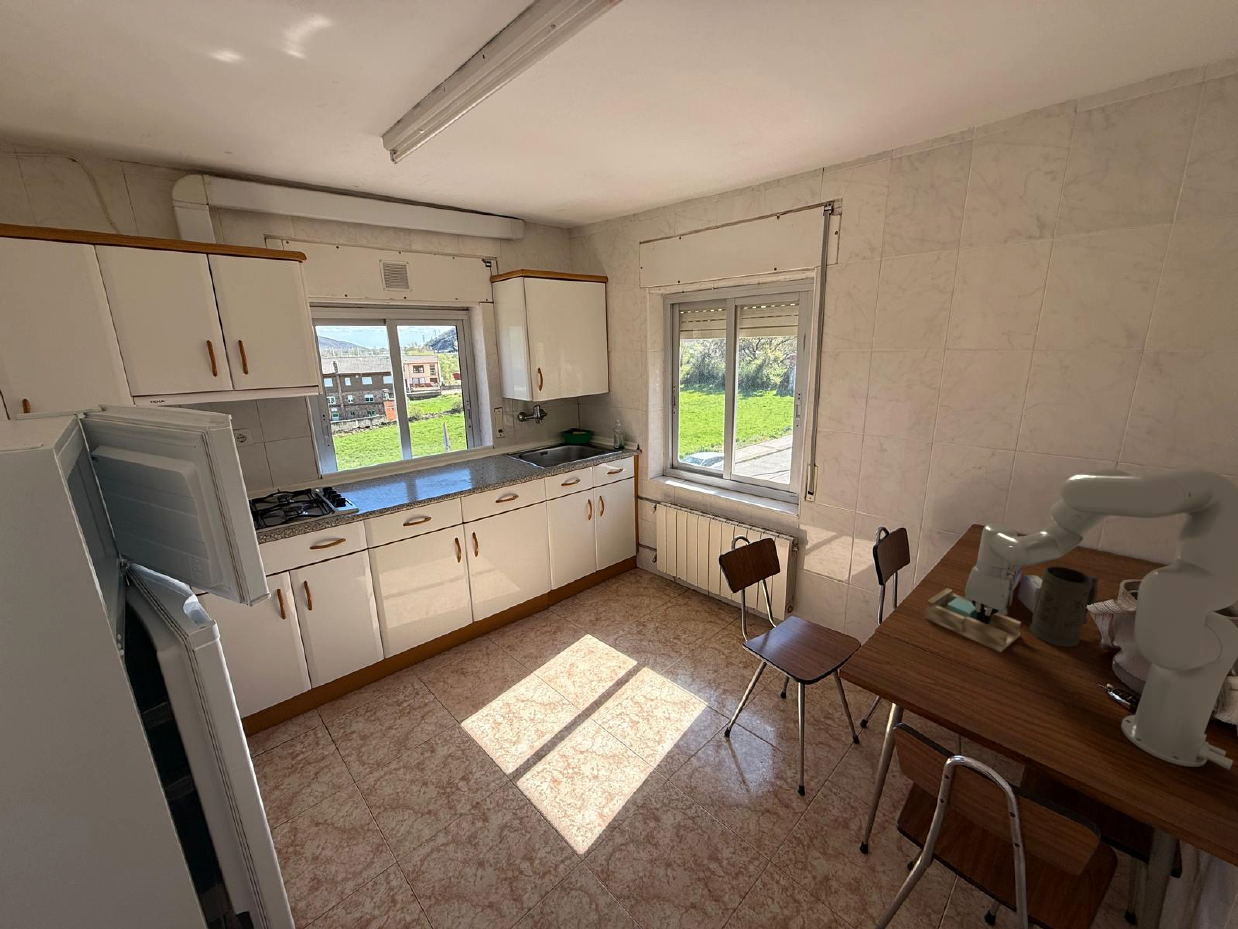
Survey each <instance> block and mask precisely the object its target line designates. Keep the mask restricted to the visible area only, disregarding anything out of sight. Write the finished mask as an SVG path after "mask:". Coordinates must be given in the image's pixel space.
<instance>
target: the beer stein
mask: <svg viewBox="0 0 1238 929" xmlns="http://www.w3.org/2000/svg"><path fill="white" fill-rule="evenodd" d="M1042 576H1043V577H1042V584H1041V587H1040V589H1039V592H1038V595H1037V599H1036V603H1035V608H1034V612H1032V617H1031V618H1032V619H1031V620H1032V622H1031V623H1030V625H1029V631H1030V632H1031V633H1032V635H1034V636H1035V638H1038V639H1040V640H1042V641H1044V642H1046V643H1049V644H1051V645H1054V646H1059V647H1064V648H1065V647H1067V648H1070V647H1076V646H1078V645H1079V644H1080V635H1081V633H1082V629H1083V628H1082V627H1083V625H1084V624H1085V625H1086V624H1088V618H1087V614H1088V613H1089V611H1088V609H1087V608H1086V607H1087V605H1091V604H1093V605H1094V604H1095V602H1096V600H1097V598H1098V582H1099V577H1098V576H1094V575H1087V574H1086V573H1084V572H1082V571H1079V570H1077V569H1073V568H1069V567H1064V566H1049V567H1047V568H1045V570H1044V572H1043V574H1042Z"/></svg>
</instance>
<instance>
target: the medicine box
mask: <svg viewBox="0 0 1238 929" xmlns="http://www.w3.org/2000/svg"><path fill="white" fill-rule="evenodd" d="M1042 580H1043V578H1041V577H1040V576H1039V575H1030V574H1029V575H1025V574H1023V575H1022V574H1021V577H1020V583H1019V589H1018V594H1017V599H1018V600H1019V602H1021V603H1022V604H1023V605H1024V606H1025V607H1026V608H1027V609H1028V610H1029V611H1030V612H1031V613H1033V612H1034V608H1035V603H1036V599H1037V595H1038V592H1039V589H1040V587H1041V584H1042Z"/></svg>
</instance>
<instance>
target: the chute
mask: <svg viewBox="0 0 1238 929" xmlns="http://www.w3.org/2000/svg"><path fill="white" fill-rule="evenodd" d="M957 597H958V598H960V599H963V600H965V601H968V600H966V599H965V598H964V597H965V596H961V595H958V594H956V593H953V589H951V588H948V587H946V588H945V589H943V590H942V591H940V592H938V593H937V594H935V595H934V596H932V597H931V598H930V599H928V600H926V606H925V611H924V619H926V620H928V621H931V622H933V623H935V624H937V625H939V626H942V627H943V628H946V629H948V630H951V631H952V632H955V633H957V634H959V635H962V636H964V637H966V638H968V639H970V640H972V641H975V642H977V643H979V644H982V645H983V646H985V647H988V648H990V649H993V650H995V651H997V652H999V653H1003V651H1004V650H1006V649H1007V647H1008V648H1009V646H1010V645H1012V644H1013V643H1014V642H1015V641H1016V640H1017V639H1018V638H1019V637H1020V636H1021V631H1020V629H1021V625H1022V621H1019V620H1018V619H1014V618H1012V617H1010V616H1007V615H1004V614H999V613H995V614H992V615H991V620H990V623H989V624H985V623H983V622H980V621H978V620H976V619H973V618H971V617H968V616H967V617H964V616H962V615H959V614H957V613H954V612H952V611H950V610H947V604H948V603H950V602H951V601H953V600H954V599H956V598H957ZM968 602H970V601H968ZM970 603H972V602H970ZM986 609H987V607H985V610H986Z"/></svg>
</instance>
